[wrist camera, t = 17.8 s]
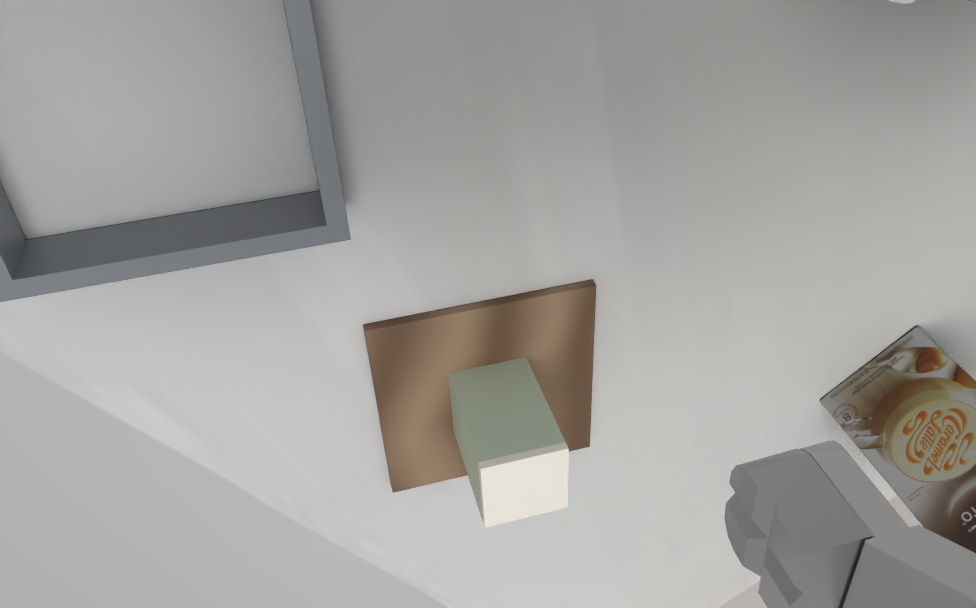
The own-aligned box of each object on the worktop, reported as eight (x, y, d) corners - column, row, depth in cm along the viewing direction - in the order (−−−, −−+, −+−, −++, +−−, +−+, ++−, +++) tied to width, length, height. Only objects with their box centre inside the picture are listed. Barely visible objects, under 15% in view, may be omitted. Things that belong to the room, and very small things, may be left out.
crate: (281, -142, 33) (287, -126, 31) (342, 204, 43) (350, 239, 40) (-159, -100, 31) (-195, -78, 28) (12, 260, 40) (-3, 302, 38)
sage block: (526, 357, 52) (568, 448, 46) (527, 414, 55) (567, 507, 49) (447, 373, 51) (480, 469, 45) (453, 430, 54) (484, 527, 48)
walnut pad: (592, 279, 50) (596, 285, 50) (586, 440, 59) (589, 446, 58) (363, 325, 48) (364, 331, 48) (391, 485, 56) (392, 492, 56)
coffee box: (916, 321, 61) (1098, 485, 48) (947, 359, 64) (1123, 521, 52) (815, 400, 63) (963, 576, 51) (850, 433, 67) (996, 605, 54)
